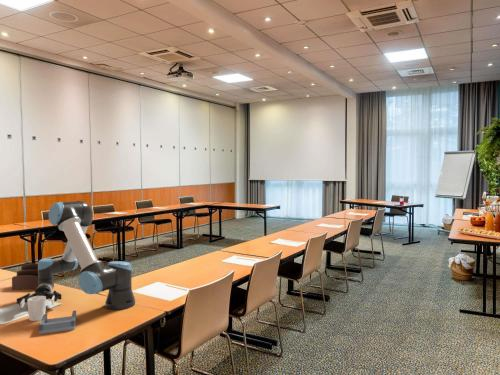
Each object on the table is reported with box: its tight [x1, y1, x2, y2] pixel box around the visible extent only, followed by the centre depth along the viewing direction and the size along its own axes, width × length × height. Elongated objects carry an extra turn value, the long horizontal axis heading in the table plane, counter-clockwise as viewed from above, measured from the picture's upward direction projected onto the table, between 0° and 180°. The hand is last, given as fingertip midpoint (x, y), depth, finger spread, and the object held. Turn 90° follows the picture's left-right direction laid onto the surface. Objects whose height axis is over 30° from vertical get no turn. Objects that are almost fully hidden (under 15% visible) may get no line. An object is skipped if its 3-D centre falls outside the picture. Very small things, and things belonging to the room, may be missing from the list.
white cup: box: [27, 296, 47, 322], centre depth 185 cm, size 8×8×10 cm
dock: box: [38, 310, 77, 335], centre depth 175 cm, size 14×14×4 cm
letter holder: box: [11, 262, 38, 291], centre depth 237 cm, size 10×20×14 cm, turn 86°
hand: (37, 303), depth 189 cm, fingers open, 13 cm apart
